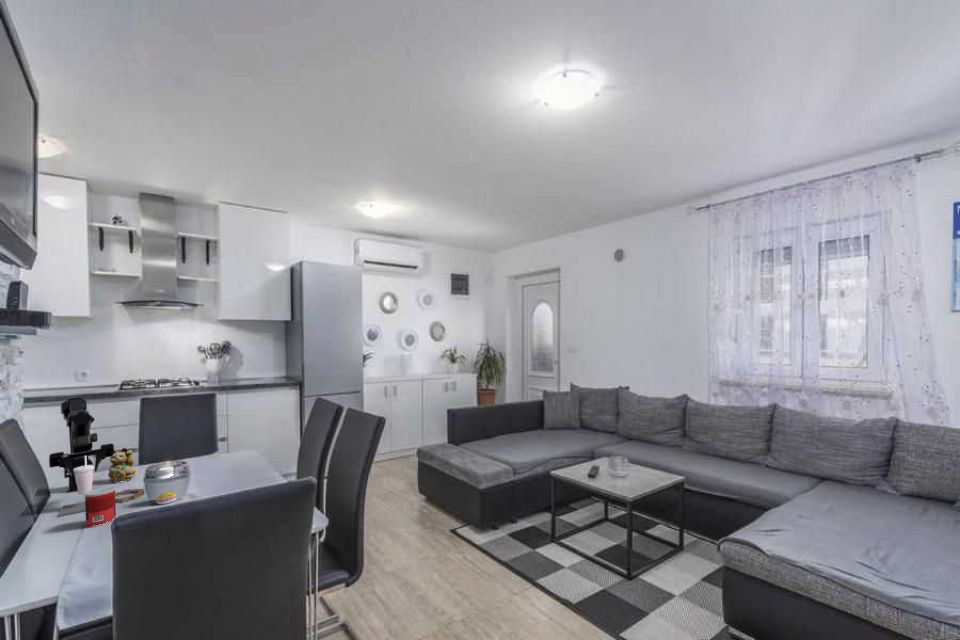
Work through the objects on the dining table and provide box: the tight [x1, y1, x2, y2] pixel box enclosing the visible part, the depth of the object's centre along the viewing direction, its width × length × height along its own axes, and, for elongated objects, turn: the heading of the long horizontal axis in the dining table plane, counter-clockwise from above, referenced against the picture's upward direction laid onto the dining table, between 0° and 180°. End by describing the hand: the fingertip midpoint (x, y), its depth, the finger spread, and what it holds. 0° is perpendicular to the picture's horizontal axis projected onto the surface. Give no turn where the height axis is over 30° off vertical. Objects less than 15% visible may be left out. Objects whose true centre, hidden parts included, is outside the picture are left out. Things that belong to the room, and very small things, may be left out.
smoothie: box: [73, 456, 95, 495], centre depth 168 cm, size 6×6×14 cm
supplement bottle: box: [155, 466, 178, 505], centre depth 170 cm, size 7×7×13 cm
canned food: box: [84, 486, 117, 527], centre depth 153 cm, size 8×8×11 cm
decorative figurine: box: [107, 447, 136, 482], centre depth 199 cm, size 10×8×15 cm
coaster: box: [57, 500, 86, 517], centre depth 168 cm, size 12×12×1 cm
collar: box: [115, 488, 145, 504], centre depth 177 cm, size 15×12×1 cm
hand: (84, 473), depth 168 cm, fingers closed on smoothie, 6 cm apart
